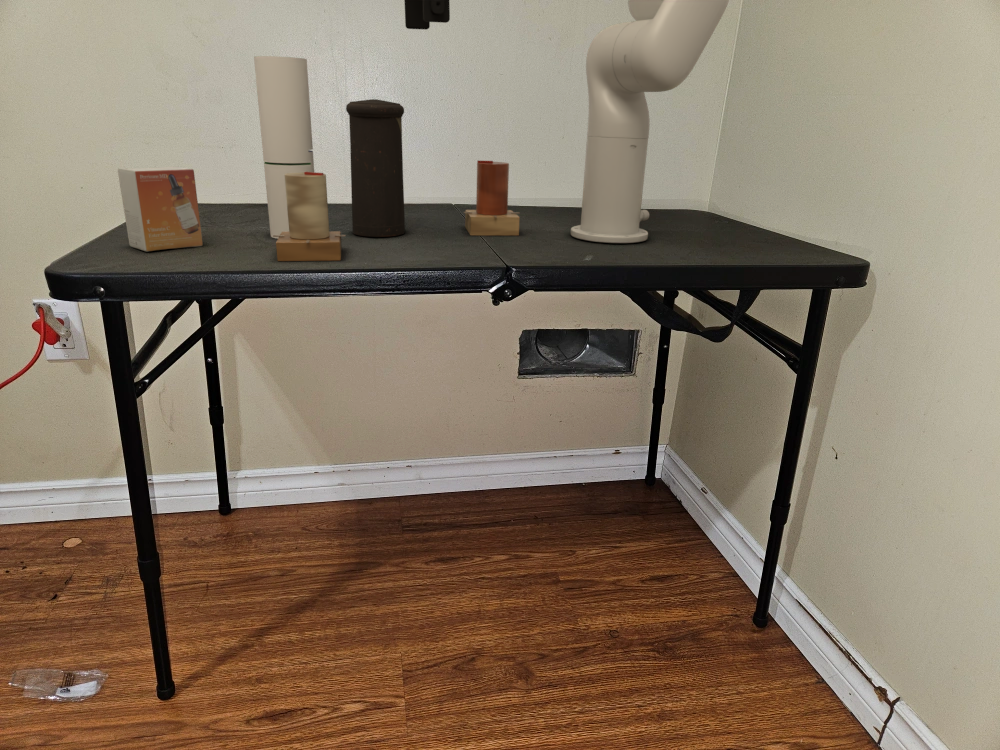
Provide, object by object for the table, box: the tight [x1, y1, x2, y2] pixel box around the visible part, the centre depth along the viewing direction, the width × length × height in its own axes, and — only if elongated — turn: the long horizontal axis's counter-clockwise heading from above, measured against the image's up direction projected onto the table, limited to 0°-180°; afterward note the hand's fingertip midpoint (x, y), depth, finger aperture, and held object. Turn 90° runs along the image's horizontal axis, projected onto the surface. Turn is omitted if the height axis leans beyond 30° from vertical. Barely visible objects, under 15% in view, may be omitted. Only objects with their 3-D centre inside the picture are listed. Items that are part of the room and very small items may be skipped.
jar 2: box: [475, 159, 510, 215], centre depth 112 cm, size 5×5×8 cm
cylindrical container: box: [253, 55, 315, 240], centre depth 101 cm, size 7×7×25 cm
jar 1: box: [285, 171, 330, 239], centre depth 90 cm, size 5×5×8 cm
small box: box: [117, 165, 203, 252], centre depth 93 cm, size 8×6×10 cm
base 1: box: [273, 230, 346, 262], centre depth 92 cm, size 9×9×3 cm
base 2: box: [463, 209, 521, 237], centre depth 114 cm, size 9×9×3 cm
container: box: [345, 98, 406, 238], centre depth 106 cm, size 9×9×20 cm
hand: (426, 25), depth 87 cm, fingers open, 9 cm apart
